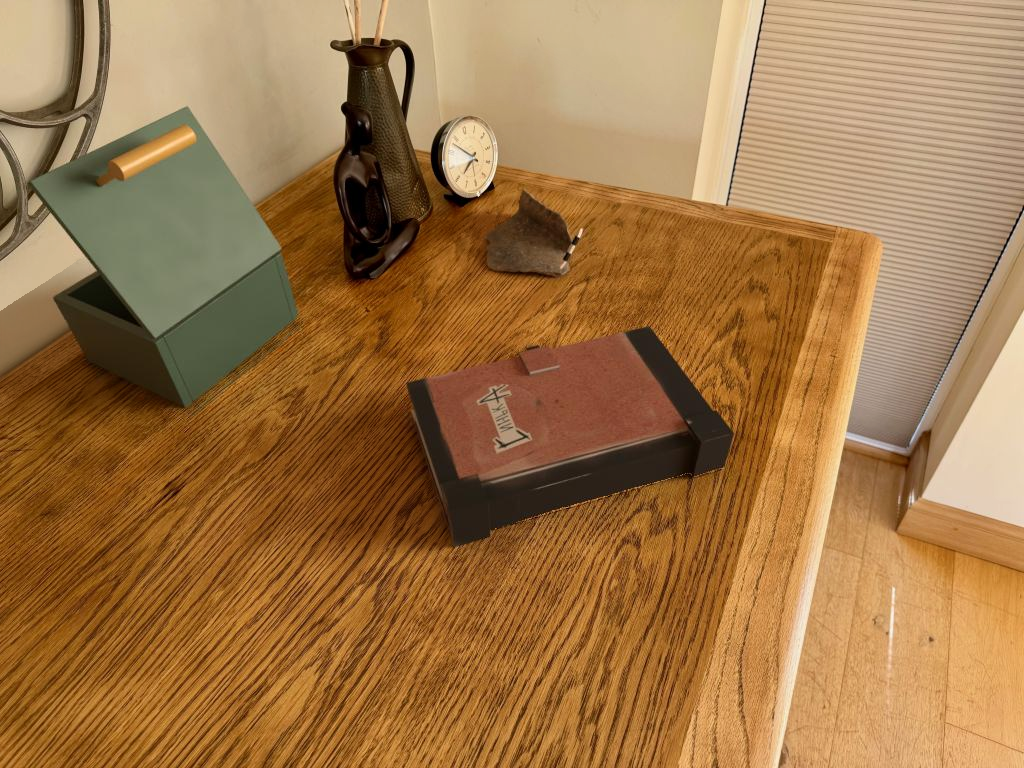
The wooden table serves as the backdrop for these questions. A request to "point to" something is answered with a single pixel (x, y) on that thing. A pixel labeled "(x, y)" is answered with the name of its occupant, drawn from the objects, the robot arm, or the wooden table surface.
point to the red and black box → (561, 429)
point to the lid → (159, 219)
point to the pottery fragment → (531, 240)
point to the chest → (181, 332)
